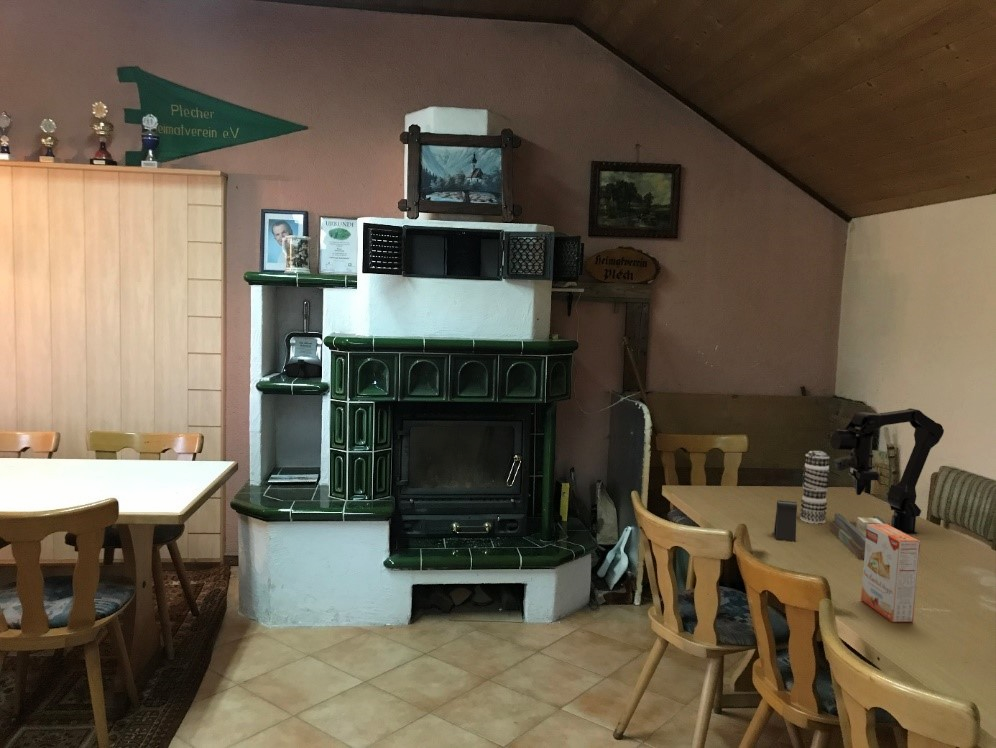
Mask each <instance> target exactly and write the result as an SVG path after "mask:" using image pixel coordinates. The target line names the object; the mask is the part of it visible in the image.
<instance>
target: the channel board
mask: <svg viewBox="0 0 996 748" xmlns="http://www.w3.org/2000/svg"><path fill="white" fill-rule="evenodd" d="M872 518H877V519H878V520H879V521H880V522H882V523H883V524H888V522H886V521H885V520H884V519H882V518H881V517H880V516H877V515H873V516H872ZM833 519H834V520H830V521H829V530H830V532H832V533H833V534H834V535H835V536H836V537H837V538H838V539H839V540H840V542H842V543H843V544H844V545H845V546H846V547H847V548H848V549H849V550H850V551H851V552H852V553H853V554H854V555H855V556H856V557H857V558H858V559H859V560H862V559H864V555H865V542H866V537H865V536H864V535H863V534H862V533H861V532H860V531H858V530H857V529H856V526H857V522H855V521H853V522H852V521H848V520H847V518H845V517H844V516H843V515H842V514H841V513H834V518H833ZM888 525H890V524H888Z"/></svg>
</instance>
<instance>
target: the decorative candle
mask: <svg viewBox="0 0 996 748" xmlns="http://www.w3.org/2000/svg"><path fill="white" fill-rule="evenodd" d="M830 458H831V457H830V456H829V455H828V454H827V452H825V451H822V450H810V451H808V453H805V463H804V466H803V467H802V471H803V473H802V478H801V479H802V481H803V482H802V488H803V493H802V499H801V500H800V501H801V505H800V506H801V509H800V510H799V511H800V514H799V516H800V518H799V520H800V519H801V520H800V521H802V520H803V521H802V522H804V521H805V522H804V523H807V522H808V523H809V524H813V523H815V525H819V524H818V523H823V524H825V523H826V518H827V515H826V514H827V512H826V510H827V507H826V506H827V505H828V503H827V491H829V489H828V488H829V485H828V484H830V482H829V480H828V479H831V475H830V474H831V472H830V471H831V470H830V465H829V464H830V463H829V462H830ZM808 523H807V524H808Z"/></svg>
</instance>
